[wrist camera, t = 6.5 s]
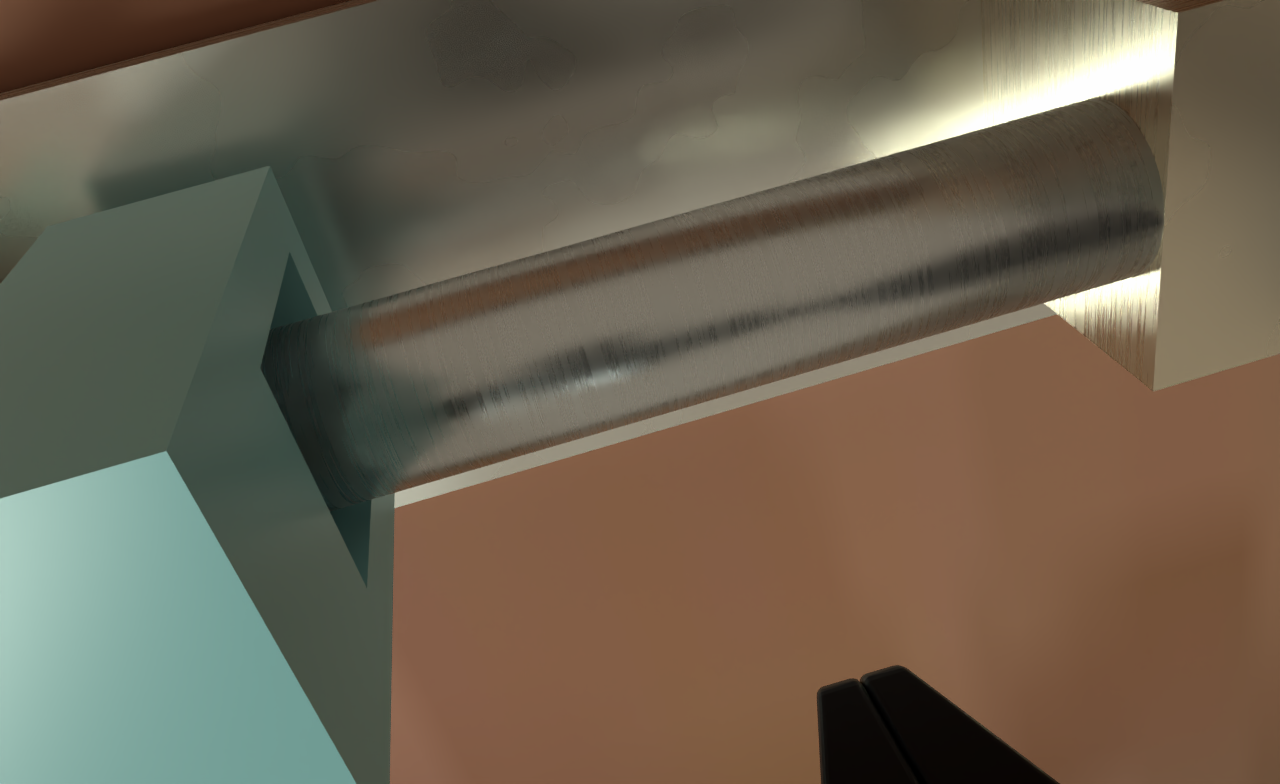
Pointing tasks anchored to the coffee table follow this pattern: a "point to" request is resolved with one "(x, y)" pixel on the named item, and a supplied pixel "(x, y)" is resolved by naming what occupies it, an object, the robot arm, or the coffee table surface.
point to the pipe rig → (690, 201)
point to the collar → (178, 514)
